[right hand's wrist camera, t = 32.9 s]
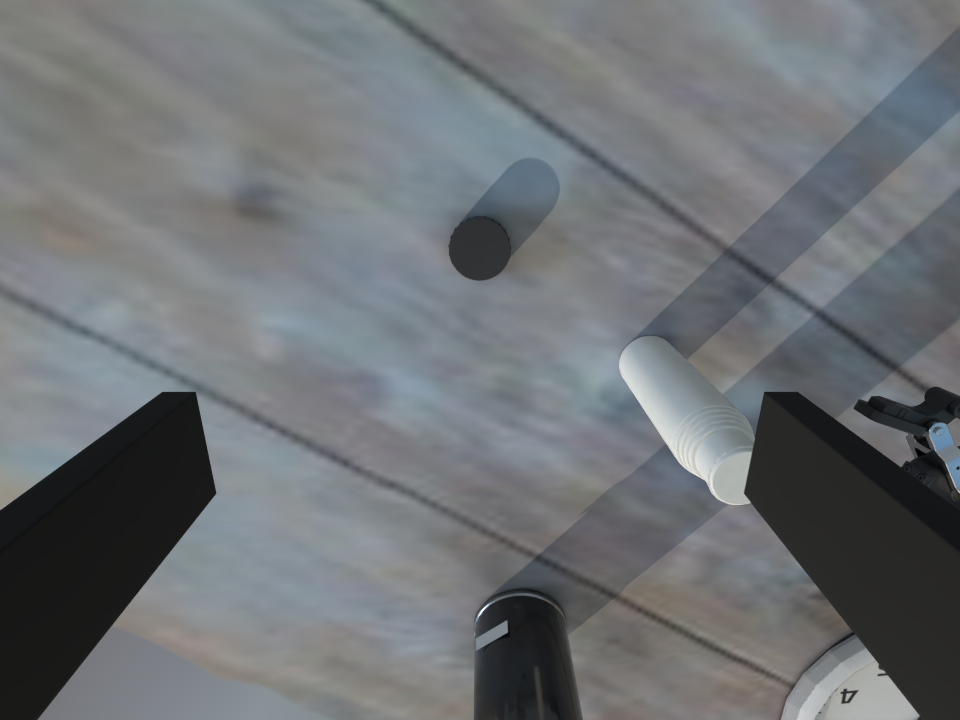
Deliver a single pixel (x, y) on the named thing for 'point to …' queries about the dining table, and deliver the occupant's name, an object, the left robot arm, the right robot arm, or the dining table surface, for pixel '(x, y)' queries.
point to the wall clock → (847, 689)
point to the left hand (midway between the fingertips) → (828, 462)
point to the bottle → (691, 416)
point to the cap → (479, 248)
